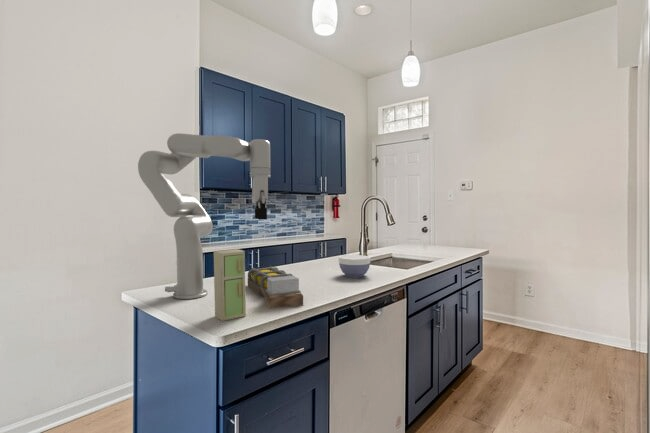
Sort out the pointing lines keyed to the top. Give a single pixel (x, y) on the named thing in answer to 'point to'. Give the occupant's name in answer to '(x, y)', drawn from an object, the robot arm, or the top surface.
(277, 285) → the block
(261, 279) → the cage light
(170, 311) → the top surface
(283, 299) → the stand
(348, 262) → the bowl
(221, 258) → the toy refrigerator
